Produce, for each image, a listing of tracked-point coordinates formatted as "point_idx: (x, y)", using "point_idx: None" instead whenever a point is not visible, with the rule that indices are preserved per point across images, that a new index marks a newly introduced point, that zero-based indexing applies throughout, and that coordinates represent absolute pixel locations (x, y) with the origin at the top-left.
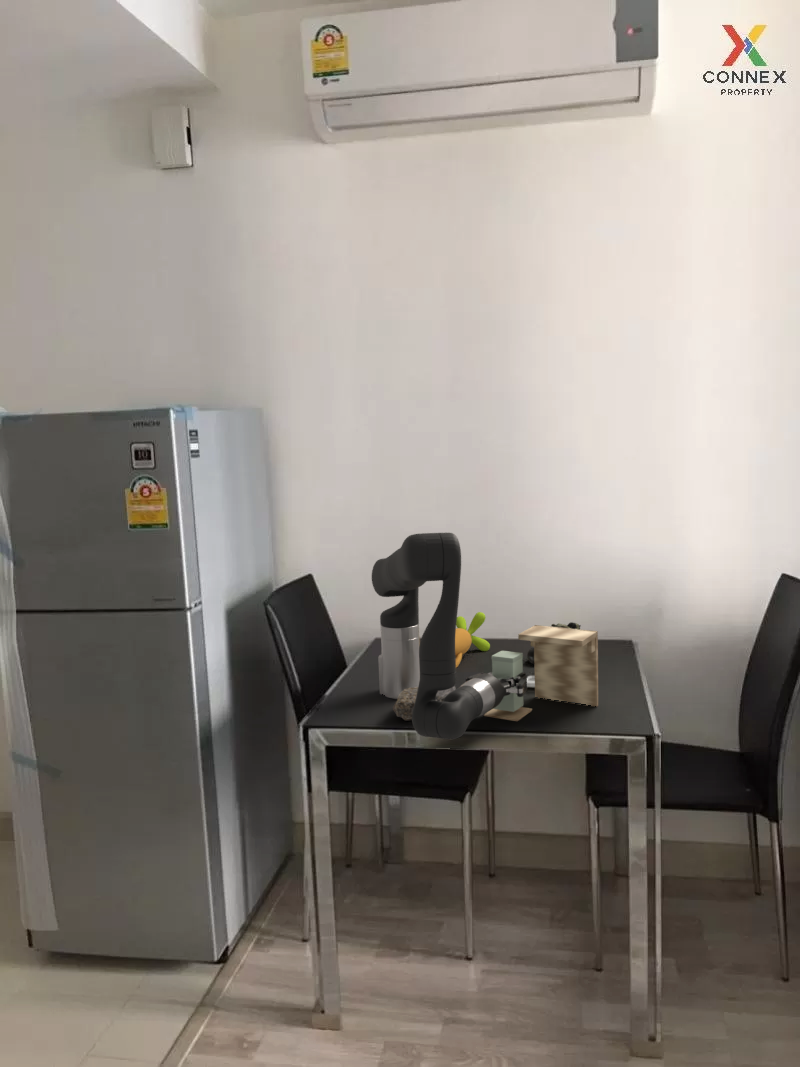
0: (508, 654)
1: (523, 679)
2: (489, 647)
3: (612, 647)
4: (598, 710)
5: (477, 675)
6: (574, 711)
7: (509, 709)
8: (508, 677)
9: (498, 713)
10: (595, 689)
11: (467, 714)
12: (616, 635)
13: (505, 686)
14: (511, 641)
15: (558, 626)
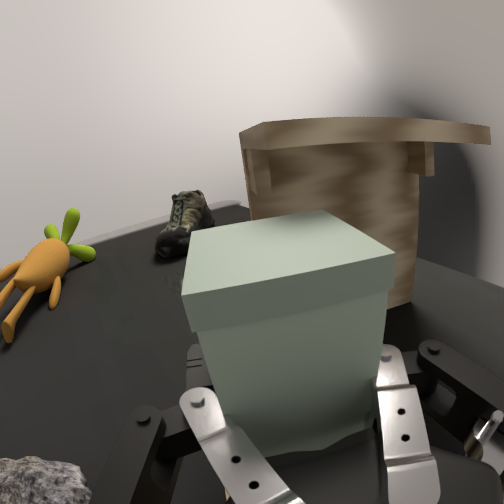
0: (282, 237)
1: (446, 357)
2: (95, 254)
3: (233, 212)
4: (431, 309)
5: (132, 470)
6: (412, 338)
7: None
8: (404, 408)
9: None
10: (412, 266)
11: None
12: (218, 204)
13: (501, 500)
14: (117, 239)
15: (184, 194)
